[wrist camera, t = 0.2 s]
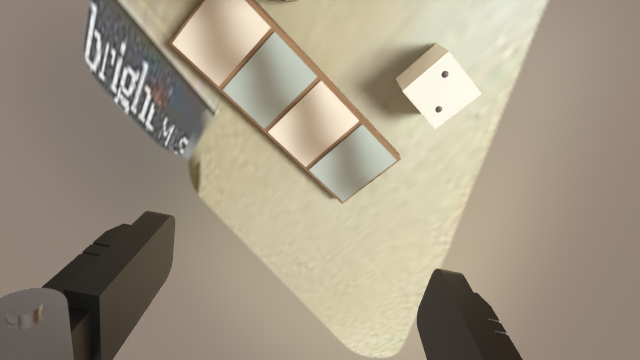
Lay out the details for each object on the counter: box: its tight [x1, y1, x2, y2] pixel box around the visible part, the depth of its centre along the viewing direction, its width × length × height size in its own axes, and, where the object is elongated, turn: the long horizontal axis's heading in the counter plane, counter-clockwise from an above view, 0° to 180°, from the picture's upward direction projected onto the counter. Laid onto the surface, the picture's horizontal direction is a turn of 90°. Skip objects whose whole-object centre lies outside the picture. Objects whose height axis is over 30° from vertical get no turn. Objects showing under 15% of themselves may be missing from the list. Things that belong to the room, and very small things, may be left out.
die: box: [396, 43, 482, 129], centre depth 28 cm, size 4×4×4 cm
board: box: [169, 0, 400, 204], centre depth 30 cm, size 7×20×1 cm, turn 44°
